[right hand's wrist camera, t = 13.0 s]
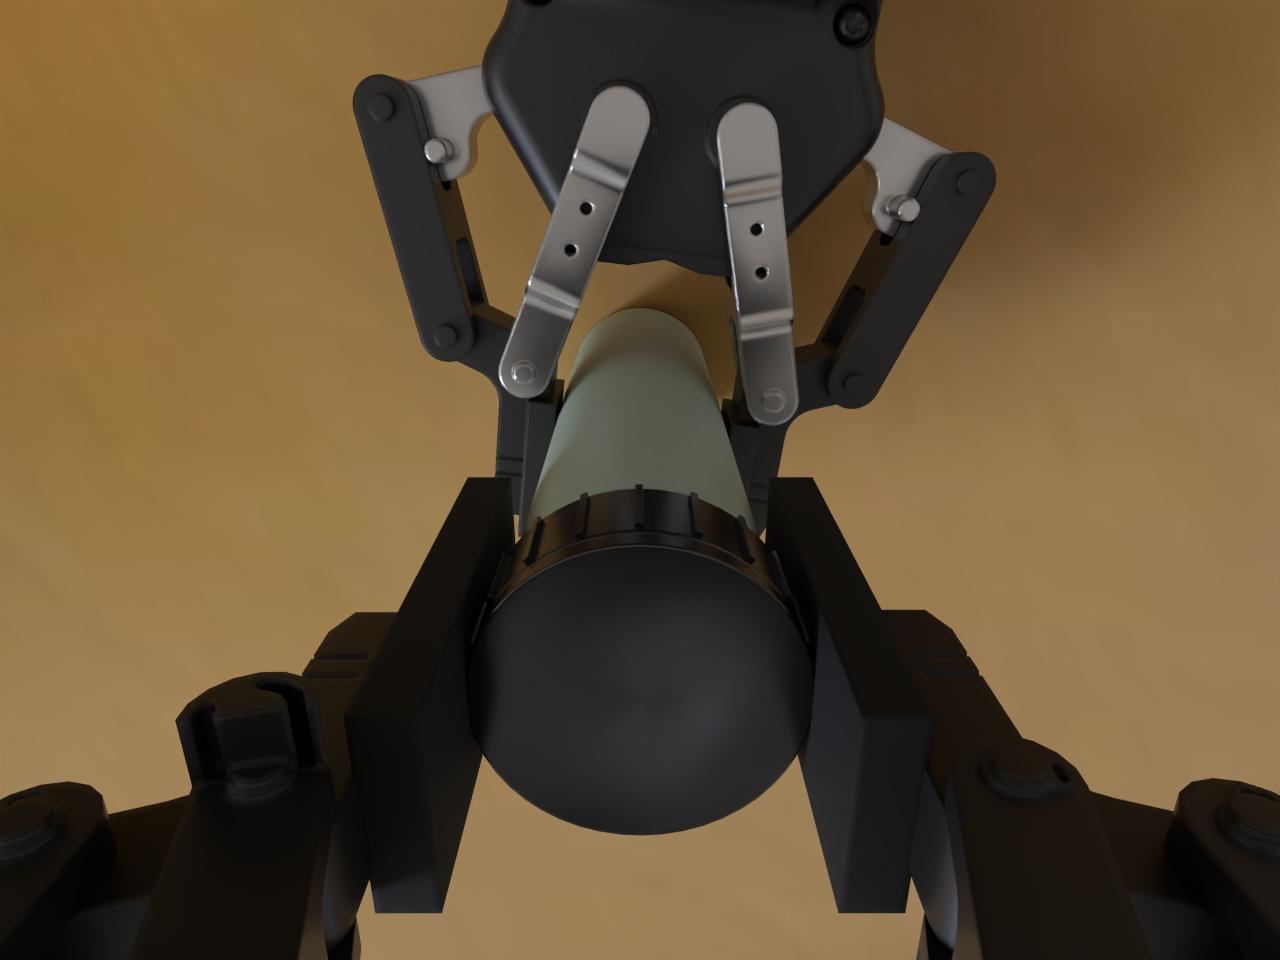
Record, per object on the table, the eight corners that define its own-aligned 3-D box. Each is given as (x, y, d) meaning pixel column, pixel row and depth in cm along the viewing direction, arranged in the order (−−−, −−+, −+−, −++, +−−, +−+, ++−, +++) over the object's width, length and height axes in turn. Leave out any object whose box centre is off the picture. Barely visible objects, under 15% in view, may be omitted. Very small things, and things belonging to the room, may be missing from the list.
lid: (470, 482, 12) (440, 539, 10) (807, 480, 12) (836, 537, 10) (495, 752, 13) (473, 840, 12) (787, 750, 13) (809, 839, 12)
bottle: (572, 307, 26) (473, 543, 10) (706, 306, 26) (805, 542, 10) (577, 435, 27) (496, 803, 12) (704, 434, 27) (785, 801, 12)
